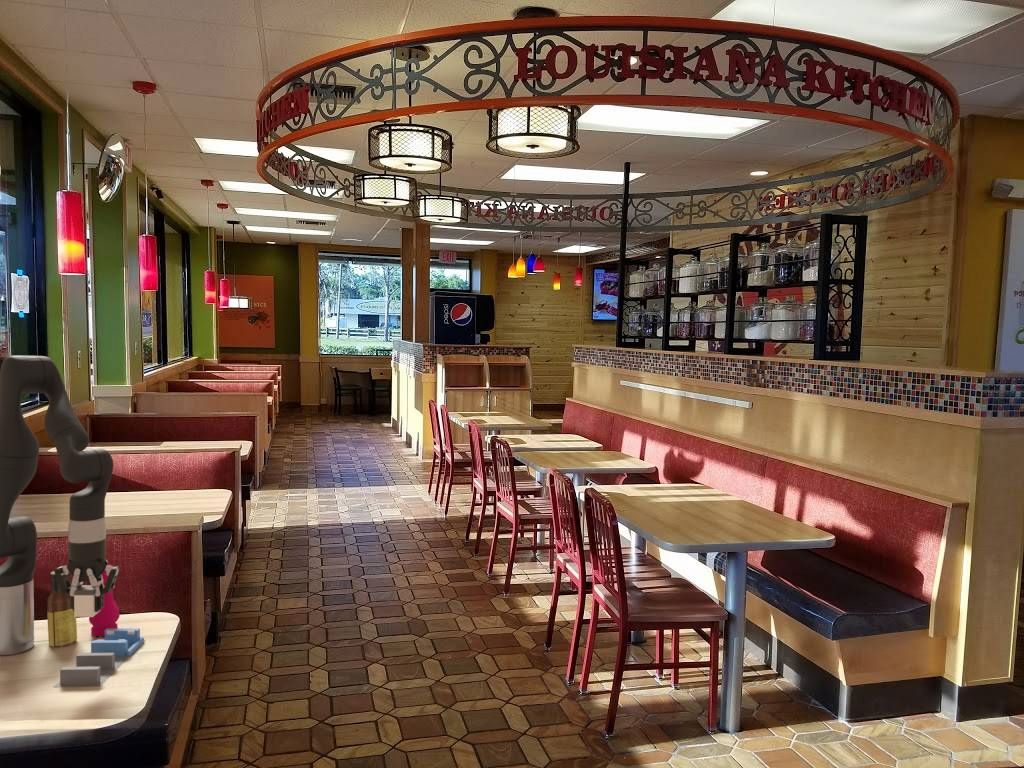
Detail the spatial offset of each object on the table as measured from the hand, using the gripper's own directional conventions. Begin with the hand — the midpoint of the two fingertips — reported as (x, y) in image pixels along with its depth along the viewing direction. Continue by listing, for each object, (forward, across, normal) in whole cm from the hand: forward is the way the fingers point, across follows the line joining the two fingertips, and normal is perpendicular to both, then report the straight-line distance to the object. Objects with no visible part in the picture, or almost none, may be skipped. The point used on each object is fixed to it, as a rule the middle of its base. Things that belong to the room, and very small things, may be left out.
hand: (87, 610), depth 175 cm
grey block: (+1, 0, 0) cm, 1 cm away
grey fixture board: (+17, 0, -7) cm, 18 cm away
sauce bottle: (+17, +15, -19) cm, 30 cm away
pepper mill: (+17, +9, -29) cm, 35 cm away
